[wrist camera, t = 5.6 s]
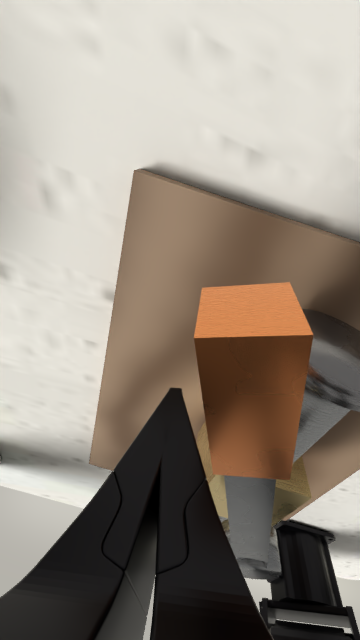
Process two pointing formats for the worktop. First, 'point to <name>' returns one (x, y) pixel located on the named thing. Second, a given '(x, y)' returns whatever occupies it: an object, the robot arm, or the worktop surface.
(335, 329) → the valve body
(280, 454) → the lever
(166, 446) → the robot arm
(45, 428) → the worktop surface
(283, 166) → the worktop surface
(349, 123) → the worktop surface
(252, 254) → the mounting board
